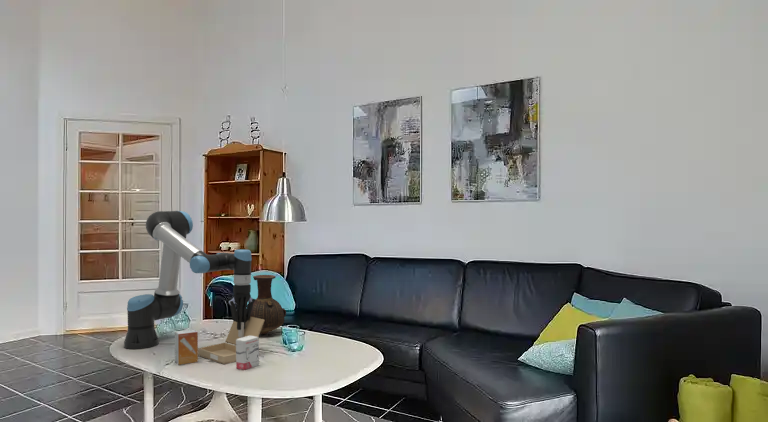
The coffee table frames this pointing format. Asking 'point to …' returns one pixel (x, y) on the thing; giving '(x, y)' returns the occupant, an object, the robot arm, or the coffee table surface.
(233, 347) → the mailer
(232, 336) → the lid
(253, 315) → the vase
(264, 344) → the coffee table surface
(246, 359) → the ink box
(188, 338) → the small box
